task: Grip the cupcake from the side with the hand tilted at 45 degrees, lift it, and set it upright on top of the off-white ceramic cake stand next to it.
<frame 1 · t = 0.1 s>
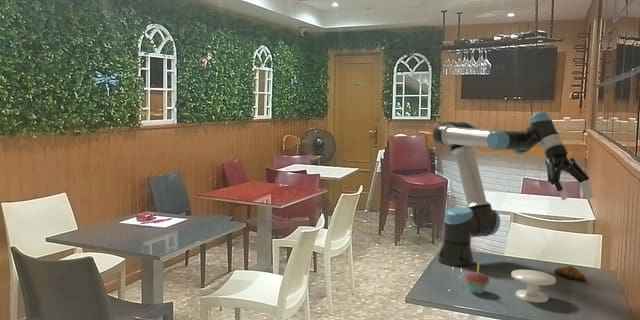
hand: (578, 198, 202), 36 cm above the table, tool tilted 35°, fingers open, 13 cm apart
cake stand: (531, 297, 197), on the table
croissant: (569, 278, 224), on the table
cupcake: (476, 291, 201), on the table
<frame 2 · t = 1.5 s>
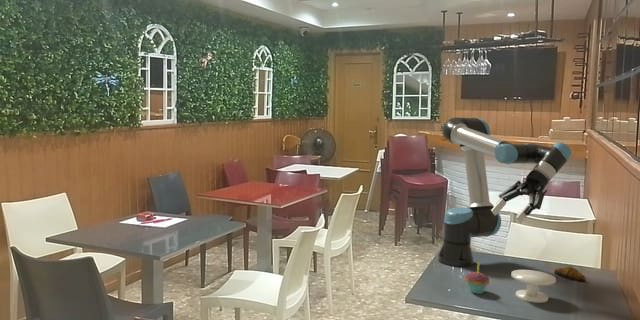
hand: (505, 216, 203), 28 cm above the table, tool tilted 45°, fingers open, 13 cm apart
nothing on the table moved.
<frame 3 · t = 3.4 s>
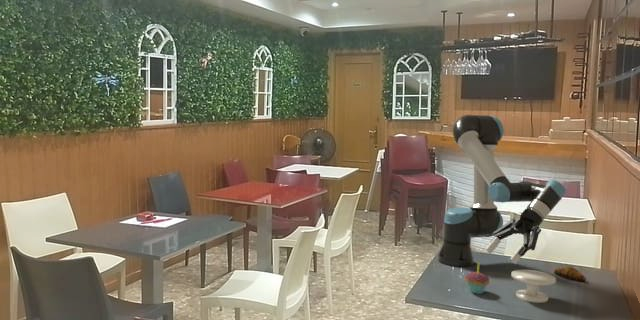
hand: (499, 256, 202), 13 cm above the table, tool tilted 45°, fingers open, 13 cm apart
nothing on the table moved.
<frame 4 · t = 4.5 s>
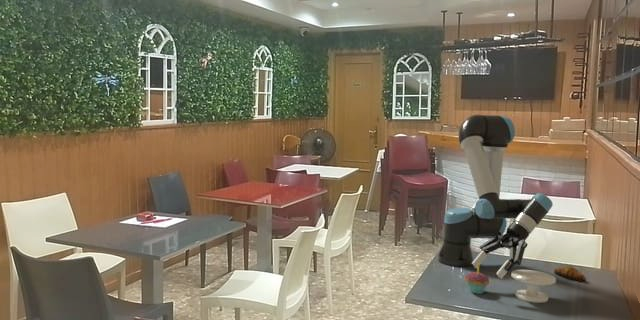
hand: (486, 271, 200), 8 cm above the table, tool tilted 45°, fingers open, 13 cm apart
nothing on the table moved.
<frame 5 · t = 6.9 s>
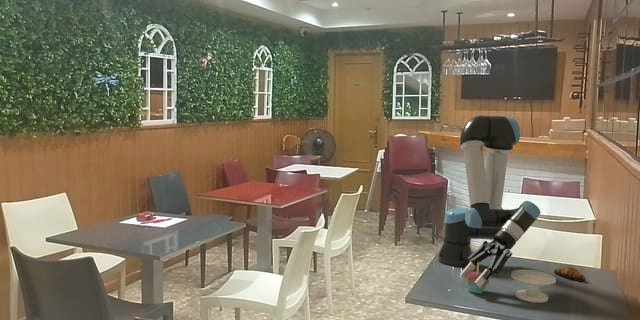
hand: (469, 280, 200), 4 cm above the table, tool tilted 45°, fingers closed on cupcake, 8 cm apart
cupcake: (475, 291, 202), on the table, touching gripper
everything else where it was.
when the fingers open (14 cm above the table, at t = 12.6 s): cupcake drops 1 cm, resting on cake stand.
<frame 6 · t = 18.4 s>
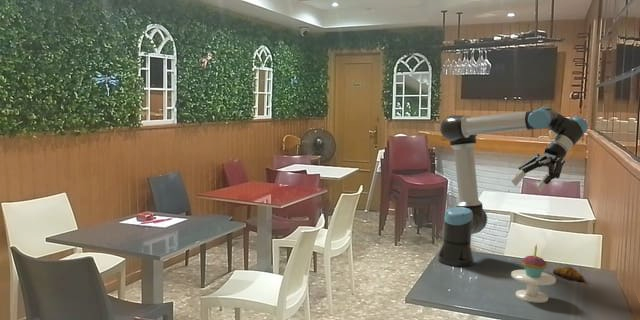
hand: (525, 186, 215), 38 cm above the table, tool tilted 45°, fingers open, 13 cm apart
cupcake: (532, 276, 197), point 8 cm above the table, touching cake stand
everything else where it was.
at the end: cupcake inside the target area on the cake stand (0.2 cm from its centre), point 7.8 cm above the cake stand's base; cupcake tilted 0°; the gripper is holding nothing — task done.
